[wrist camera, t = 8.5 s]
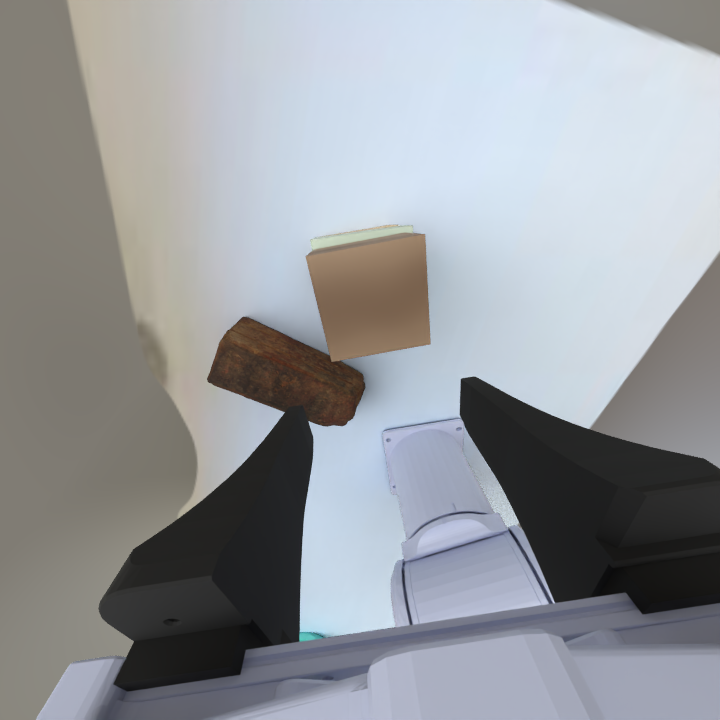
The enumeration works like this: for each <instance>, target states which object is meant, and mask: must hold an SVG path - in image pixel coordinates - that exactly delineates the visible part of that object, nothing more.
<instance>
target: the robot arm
mask: <svg viewBox="0 0 720 720" xmlns="http://www.w3.org/2000/svg"><path fill="white" fill-rule="evenodd" d="M460 416H461V418H462V420H461V419H454V420H448V421H441V422H435V423H429V424H423V425H416V426H410V427H404V428H398V429H391V430H386V431H384V432H383V441H384V448H385V455H386V461H387V468H388V474H389V481H390V487H391V493H392V494H393V495H398V500H399V505H400V510H401V515H402V520H403V525H404V529H405V534H406V539H407V541H405V542H402V543H401V546H402V551H403V557H404V559H402V560H399V561H397V562H396V564H395V567H394V571H393V574H392V577H391V601H392V608H393V615H394V621H395V626H396V627H394V628H387V629H381V630H374V631H367V632H361V633H354V634H348V635H341V636H334V637H328V638H321V639H315V640H308V641H301V642H299V631H300V580H301V555H302V536H303V521H304V512H305V504H306V498H307V492H308V486H309V480H310V474H311V467H312V460H313V435H312V432H311V429H310V426H309V423H308V420H307V417H306V413H305V410H304V407H303V405H298V406H292V407H289V408H288V409H287V411H286V412H285V413H284V415H283V416H282V417H281V419H280V420H279V421H278V423H277V424H276V425H275V426H274V428H273V429H272V430H271V432H270V433H269V434H268V435H267V437H266V438H265V439H264V440H263V442H262V443H261V444H260V445H259V446H258V447H257V449H256V450H255V451H254V452H253V453H252V454H251V455H250V457H249V458H248V459H247V460H246V461H245V462H244V463H243V464H242V465H241V466H240V467H239V468H238V469H237V470H236V471H235V472H234V473H233V474H232V475H231V476H230V477H229V478H228V479H227V480H225V481H224V482H223V483H222V484H221V485H220V486H219V487H217V488H216V489H215V490H214V491H213V492H212V493H210V494H209V495H208V496H207V497H206V498H205V499H203V500H202V501H201V502H200V503H198V504H197V505H196V506H195V507H193V508H192V509H191V510H189V511H188V512H187V513H185V514H184V515H183V516H181V517H180V518H179V519H177V520H176V521H175V522H173V523H172V524H170V525H169V526H168V527H166V528H165V529H163V530H162V531H160V532H159V533H157V534H156V535H154V536H153V537H151V538H150V539H148V540H147V541H145V542H144V543H142V544H141V545H139V546H138V547H136V548H135V549H133V551H132V552H131V554H130V555H129V557H128V559H127V560H126V562H125V563H124V565H123V567H122V568H121V570H120V571H119V573H118V574H117V576H116V578H115V579H114V581H113V582H112V584H111V585H110V587H109V589H108V590H107V592H106V593H105V595H104V597H103V598H102V600H101V601H100V604H99V612H100V614H101V617H102V618H103V619H104V620H105V621H106V622H107V623H108V624H109V625H111V626H112V627H114V628H115V629H117V630H118V631H120V632H121V633H123V634H124V635H126V636H127V637H128V638H130V639H131V640H133V641H134V643H133V645H132V647H131V649H130V651H129V653H128V655H127V657H122V656H107V657H101V658H95V659H88V660H81V661H75V662H73V663H71V664H70V665H69V666H68V668H67V670H66V671H65V673H64V674H63V676H62V678H61V679H60V681H59V683H58V684H57V686H56V687H55V689H54V691H53V693H52V694H51V696H50V697H49V699H48V700H47V702H46V704H45V706H44V707H43V709H42V710H41V712H40V713H39V715H38V717H37V718H36V720H720V469H719V468H718V467H716V466H715V465H713V464H712V463H710V462H709V461H707V460H705V459H703V458H698V457H694V456H689V455H684V454H680V453H675V452H670V451H666V450H661V449H657V448H653V447H648V446H644V445H641V444H637V443H633V442H629V441H626V440H622V439H618V438H615V437H611V436H608V435H605V434H602V433H599V432H596V431H593V430H590V429H587V428H584V427H581V426H578V425H575V424H572V423H570V422H567V421H565V420H562V419H560V418H557V417H555V416H552V415H550V414H547V413H545V412H543V411H541V410H538V409H536V408H534V407H532V406H530V405H528V404H526V403H524V402H522V401H520V400H518V399H516V398H514V397H512V396H510V395H508V394H506V393H504V392H503V391H501V390H499V389H497V388H495V387H493V386H492V385H490V384H488V383H486V382H484V381H482V380H481V379H479V378H477V377H468V378H462V379H461V391H460ZM464 425H465V427H466V429H467V431H468V433H469V435H470V437H471V438H472V440H473V442H474V443H475V445H476V446H477V448H478V450H479V451H480V453H481V454H482V456H483V457H484V459H485V461H486V462H487V464H488V465H489V467H490V468H491V470H492V472H493V473H494V475H495V476H496V478H497V480H498V481H499V483H500V485H501V487H502V488H503V490H504V492H505V494H506V496H507V498H508V500H509V502H510V504H511V506H512V508H513V510H514V512H515V514H516V517H517V519H518V521H519V523H520V525H521V527H522V529H523V530H522V529H521V528H520V527H518V526H517V525H513V526H510V527H508V529H507V527H506V525H505V523H504V522H503V520H502V518H501V516H500V514H499V513H494V511H493V509H492V507H491V505H490V503H489V501H488V499H487V497H486V496H485V494H484V492H483V490H482V488H481V486H480V484H479V482H478V480H477V479H476V477H475V475H474V473H473V471H472V469H471V467H470V465H469V463H468V462H467V460H466V458H465V456H464V454H463V435H464ZM458 427H459V428H458ZM388 438H390V439H388Z"/></svg>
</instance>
